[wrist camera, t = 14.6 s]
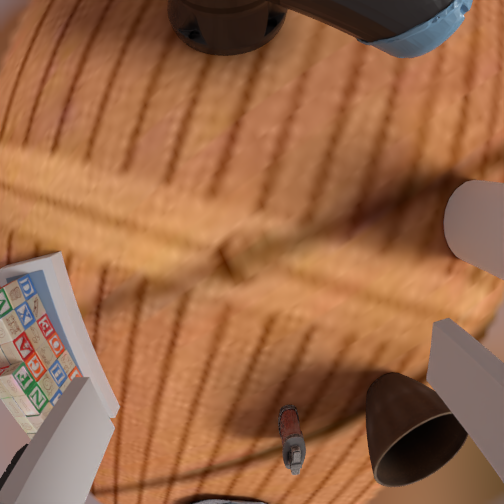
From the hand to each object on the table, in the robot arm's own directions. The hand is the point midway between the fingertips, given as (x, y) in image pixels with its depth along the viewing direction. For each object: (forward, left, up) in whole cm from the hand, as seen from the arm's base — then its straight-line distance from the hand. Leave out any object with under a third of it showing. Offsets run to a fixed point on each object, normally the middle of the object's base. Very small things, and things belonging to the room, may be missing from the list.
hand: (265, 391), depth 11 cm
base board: (+11, -32, -30) cm, 46 cm away
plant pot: (+30, +18, -31) cm, 46 cm away
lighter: (+32, +1, -31) cm, 44 cm away
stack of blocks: (+10, -32, -28) cm, 43 cm away
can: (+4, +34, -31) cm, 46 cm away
